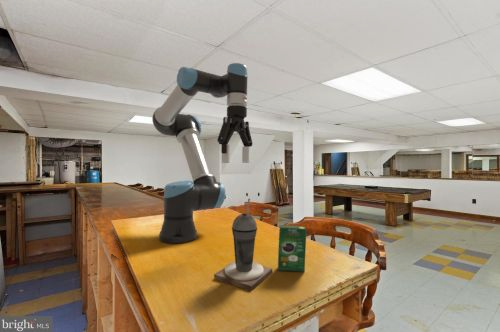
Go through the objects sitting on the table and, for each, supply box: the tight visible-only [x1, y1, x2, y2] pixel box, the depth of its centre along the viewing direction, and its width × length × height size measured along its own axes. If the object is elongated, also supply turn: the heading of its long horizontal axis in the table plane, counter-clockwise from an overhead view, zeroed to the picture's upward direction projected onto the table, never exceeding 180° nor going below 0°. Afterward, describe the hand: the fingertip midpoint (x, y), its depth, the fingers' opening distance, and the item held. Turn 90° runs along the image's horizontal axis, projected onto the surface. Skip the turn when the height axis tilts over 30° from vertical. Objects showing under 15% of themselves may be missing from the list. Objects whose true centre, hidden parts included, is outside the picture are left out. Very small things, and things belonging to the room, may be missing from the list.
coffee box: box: [277, 225, 307, 273], centre depth 75 cm, size 8×3×13 cm, turn 87°
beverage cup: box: [231, 198, 258, 272], centre depth 70 cm, size 7×7×20 cm
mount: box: [213, 261, 273, 292], centre depth 71 cm, size 12×12×2 cm
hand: (236, 162), depth 95 cm, fingers open, 13 cm apart
